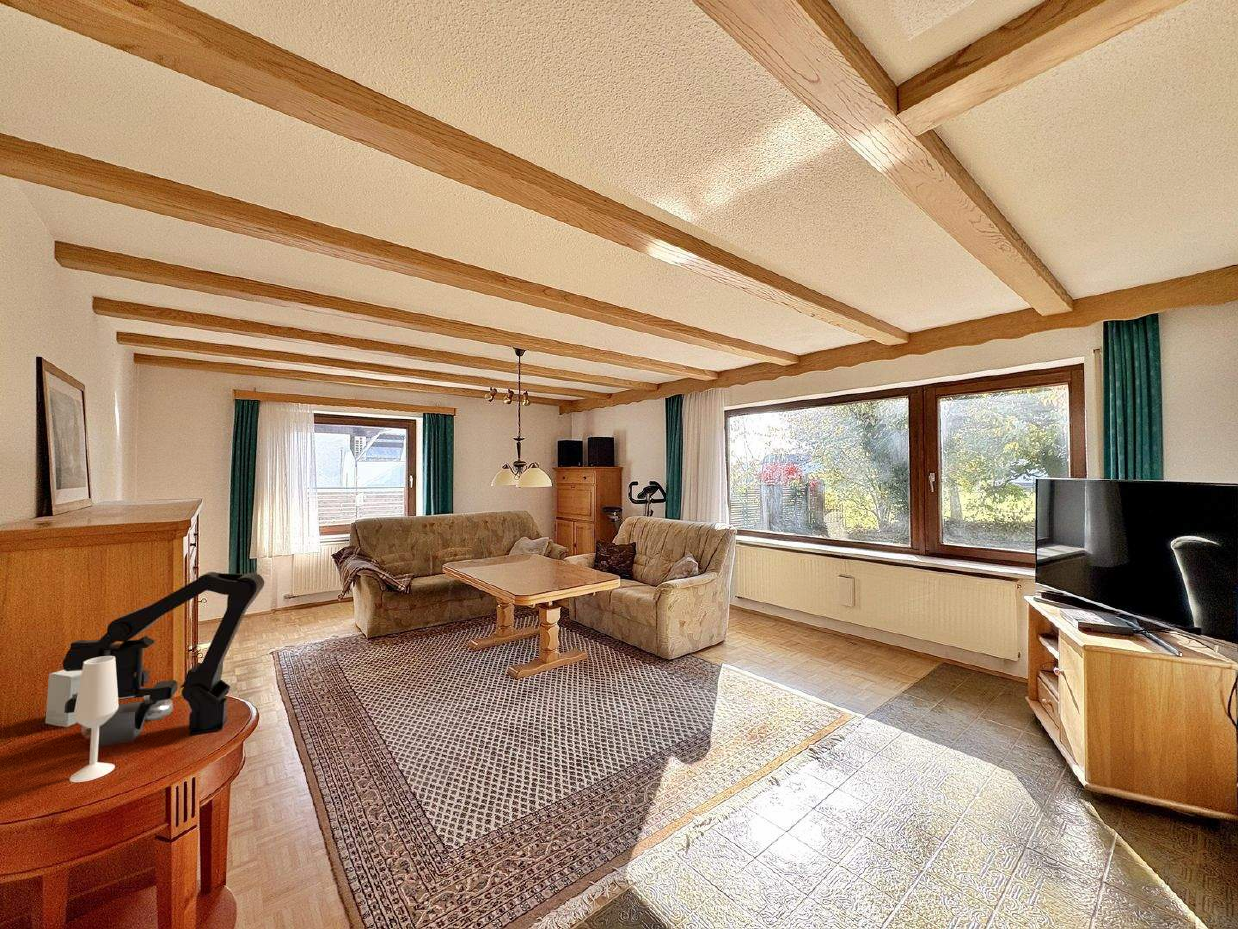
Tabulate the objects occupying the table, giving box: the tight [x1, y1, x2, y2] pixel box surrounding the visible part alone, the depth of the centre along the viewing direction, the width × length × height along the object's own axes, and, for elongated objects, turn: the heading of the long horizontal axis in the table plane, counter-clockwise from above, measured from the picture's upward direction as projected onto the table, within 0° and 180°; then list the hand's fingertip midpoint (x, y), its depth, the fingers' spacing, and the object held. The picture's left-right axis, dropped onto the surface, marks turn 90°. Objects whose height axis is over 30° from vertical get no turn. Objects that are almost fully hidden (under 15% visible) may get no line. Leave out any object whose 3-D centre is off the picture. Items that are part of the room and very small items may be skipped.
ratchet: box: [80, 699, 174, 739], centre depth 127 cm, size 7×16×6 cm, turn 148°
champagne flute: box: [69, 656, 119, 783], centre depth 106 cm, size 7×7×24 cm
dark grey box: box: [98, 700, 144, 748], centre depth 119 cm, size 6×6×7 cm
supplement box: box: [45, 669, 82, 728], centre depth 127 cm, size 7×7×13 cm
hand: (122, 731), depth 119 cm, fingers closed on dark grey box, 6 cm apart
